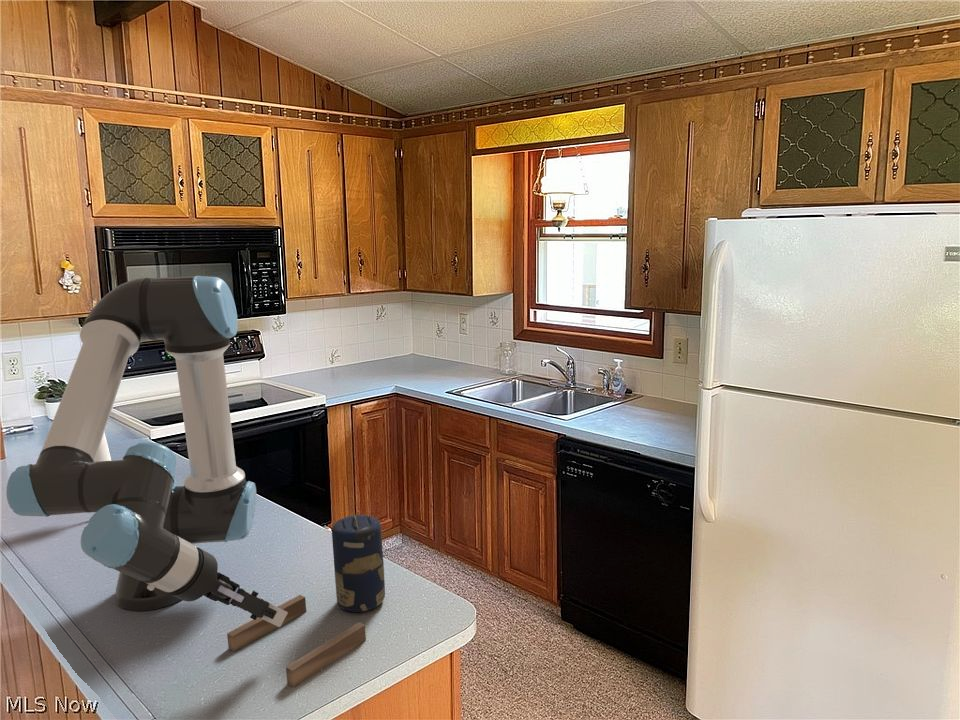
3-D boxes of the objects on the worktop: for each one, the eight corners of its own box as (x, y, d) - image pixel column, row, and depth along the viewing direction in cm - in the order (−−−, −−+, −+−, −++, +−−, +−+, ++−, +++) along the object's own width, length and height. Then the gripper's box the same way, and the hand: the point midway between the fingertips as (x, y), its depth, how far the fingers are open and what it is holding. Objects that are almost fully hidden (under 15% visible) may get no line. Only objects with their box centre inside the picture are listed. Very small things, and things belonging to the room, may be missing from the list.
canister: (388, 589, 143) (383, 506, 140) (383, 615, 134) (378, 527, 131) (341, 591, 143) (335, 508, 140) (332, 617, 134) (326, 528, 130)
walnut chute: (228, 648, 125) (227, 633, 124) (301, 608, 137) (299, 594, 136) (293, 687, 114) (292, 670, 113) (365, 640, 126) (364, 625, 125)
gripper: (143, 580, 108) (247, 627, 124) (190, 606, 100) (294, 653, 116) (172, 535, 111) (269, 587, 127) (220, 557, 103) (317, 609, 119)
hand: (281, 618), depth 122 cm, fingers closed
